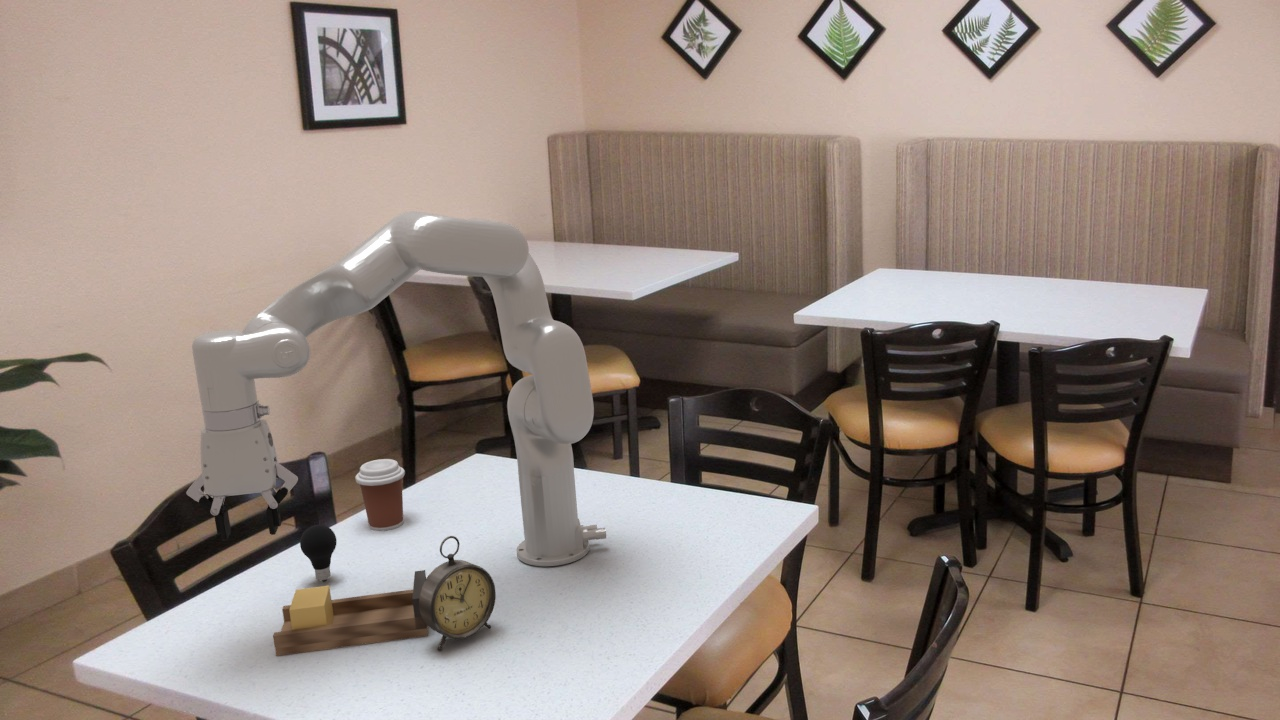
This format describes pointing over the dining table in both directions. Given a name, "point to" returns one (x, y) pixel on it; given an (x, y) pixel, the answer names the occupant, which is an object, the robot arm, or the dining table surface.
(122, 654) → the dining table surface
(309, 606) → the block
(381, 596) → the wooden tray
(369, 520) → the coffee cup
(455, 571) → the alarm clock
